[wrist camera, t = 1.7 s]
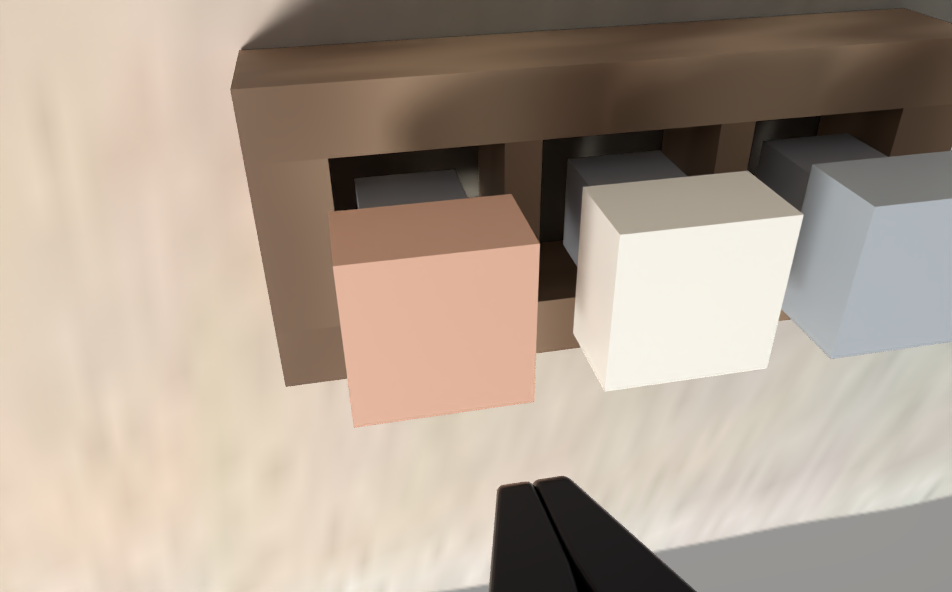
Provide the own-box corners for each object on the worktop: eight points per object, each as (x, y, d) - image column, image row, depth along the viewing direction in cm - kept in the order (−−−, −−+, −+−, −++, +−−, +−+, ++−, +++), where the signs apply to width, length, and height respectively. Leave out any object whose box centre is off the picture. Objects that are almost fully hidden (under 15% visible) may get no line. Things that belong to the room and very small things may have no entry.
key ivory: (687, 123, 17) (803, 214, 14) (668, 253, 19) (767, 368, 15) (543, 135, 17) (620, 234, 13) (538, 268, 19) (604, 391, 15)
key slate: (876, 106, 18) (1039, 188, 14) (841, 234, 20) (977, 337, 16) (743, 118, 18) (875, 207, 14) (720, 247, 20) (830, 359, 16)
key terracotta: (481, 140, 17) (539, 243, 13) (482, 275, 19) (534, 401, 15) (322, 154, 16) (332, 266, 12) (340, 291, 18) (353, 427, 14)
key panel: (904, 7, 19) (988, 34, 17) (836, 254, 23) (898, 305, 20) (239, 50, 16) (230, 89, 14) (286, 320, 20) (285, 386, 18)
